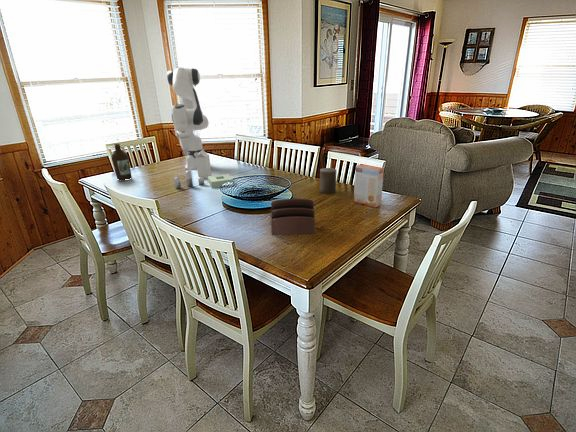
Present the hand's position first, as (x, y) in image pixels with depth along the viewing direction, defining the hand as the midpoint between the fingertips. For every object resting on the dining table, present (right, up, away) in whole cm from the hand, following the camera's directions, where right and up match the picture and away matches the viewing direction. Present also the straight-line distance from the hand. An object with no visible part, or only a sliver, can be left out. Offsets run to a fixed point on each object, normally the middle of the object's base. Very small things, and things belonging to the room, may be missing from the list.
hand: (185, 154), depth 214 cm
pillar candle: (+88, -24, -7) cm, 92 cm away
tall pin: (0, -19, +8) cm, 21 cm away
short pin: (+7, -18, +11) cm, 22 cm away
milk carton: (+6, -11, +27) cm, 30 cm away
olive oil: (-51, -13, +26) cm, 59 cm away
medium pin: (-7, -20, +6) cm, 22 cm away
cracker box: (+108, -32, -27) cm, 116 cm away
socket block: (+20, -17, +12) cm, 29 cm away
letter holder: (+67, -45, -55) cm, 98 cm away
